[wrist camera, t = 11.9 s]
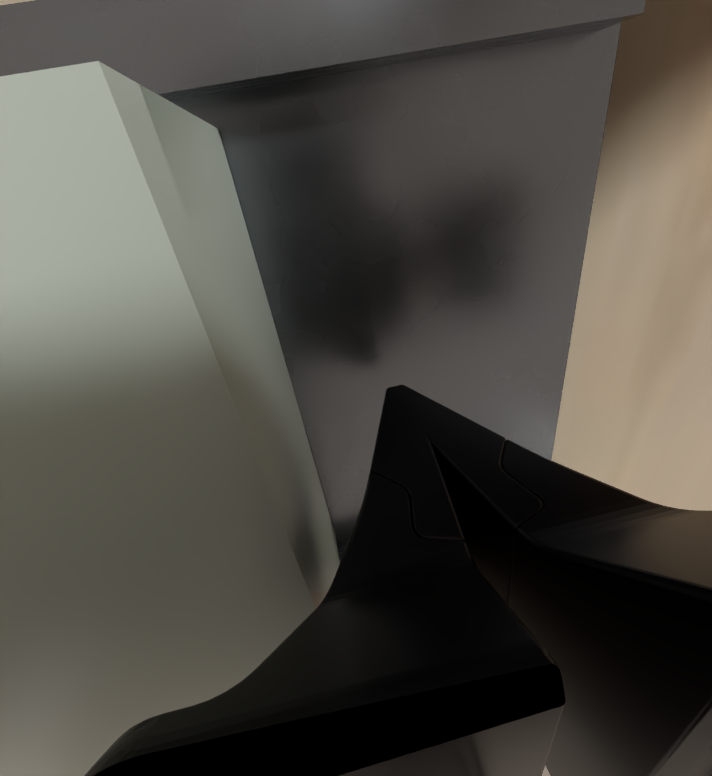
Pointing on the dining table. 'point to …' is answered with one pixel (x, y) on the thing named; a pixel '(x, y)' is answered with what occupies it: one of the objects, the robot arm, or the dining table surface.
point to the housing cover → (136, 425)
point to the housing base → (386, 186)
